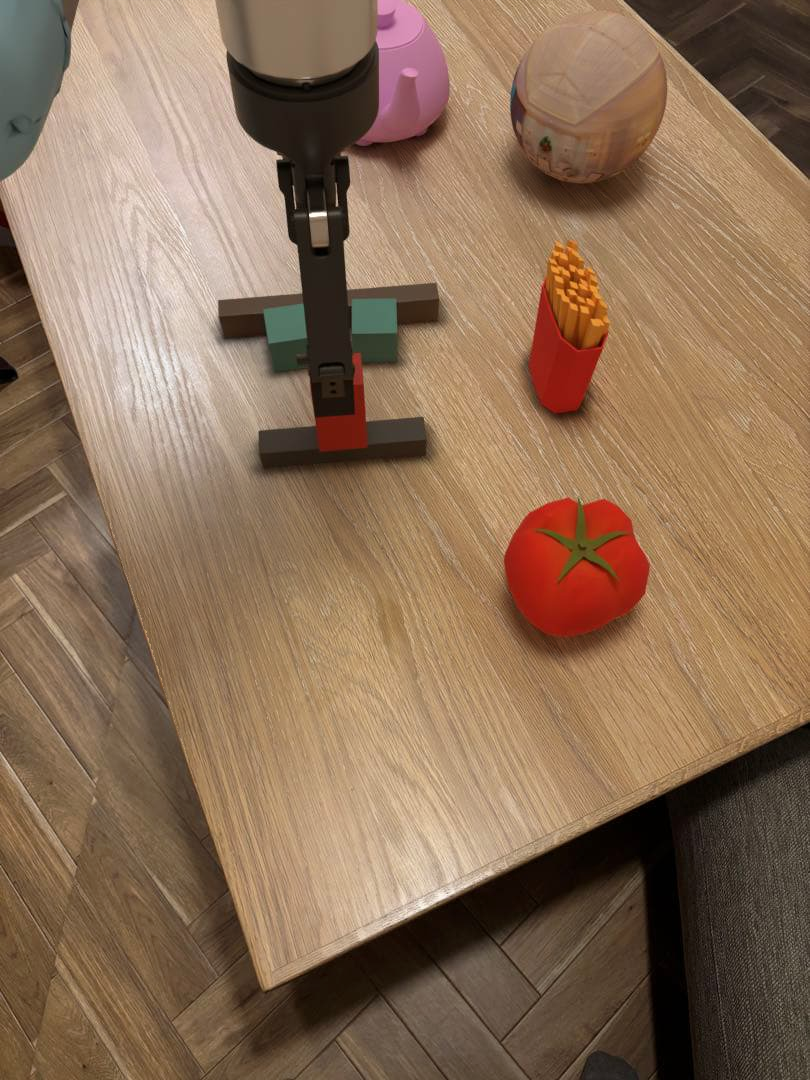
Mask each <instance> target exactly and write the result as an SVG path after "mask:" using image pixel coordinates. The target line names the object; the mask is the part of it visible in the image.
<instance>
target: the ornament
mask: <svg viewBox="0 0 810 1080" xmlns="http://www.w3.org/2000/svg"><path fill="white" fill-rule="evenodd" d="M511 84H512V85H511V89H510V99H509V100H510V101H509V111H510V120H511V125H512V129H513V134H514V136H515V138H516V141H517V143H518V145H519V147H520V149H521V150H522V152H523V154H524V155H525V156H526V158H527V159H528V160H529V161H530V162H531V163H532V164H533V165H534V166H535V167H536V168H537V169H538V170H540V171H541V172H543V173H544V174H546V175H547V176H549V177H552V178H554V179H557V180H559V181H562V182H565V183H566V182H567V183H570V184H571V183H572V184H590V183H597V182H601V181H604V180H607V179H610V178H612V177H614V176H616V175H618V174H619V175H620V174H621V173H622V172H623V171H624V170H626V169H628V168H629V167H631V166H632V165H633V164H634V163H635V162H636V161H637V160H638V159H639V158H641V157H642V155H644V153H645V152H646V151H647V149H648V148H649V147H650V145H651V144H652V142H653V140H654V138H655V137H656V135H657V133H658V131H659V129H660V127H661V124H662V121H663V118H664V115H665V111H666V107H667V99H668V80H667V72H666V67H665V63H664V60H663V57H662V55H661V52H660V50H659V48H658V46H657V44H656V43H655V42H654V40H653V39H652V37H651V36H650V35H649V34H648V33H647V31H646V30H645V29H643V27H641V25H639V24H638V23H637V22H635V21H633V20H632V19H630V18H628V17H626V16H625V15H621V14H619V13H616V12H613V11H609V10H586V11H580V12H576V13H572V14H569V15H568V16H565V17H563V18H561V19H559V20H557V21H555V22H554V23H552V24H551V25H549V26H548V27H546V28H545V29H544V30H543V31H542V32H541V33H540V34H539V35H538V36H537V37H536V38H535V39H533V42H532V43H531V44H530V45H529V47H528V48H527V50H526V51H525V52H524V53H523V56H522V57H521V60H520V61H519V64H518V66H517V68H516V71H515V73H514V77H513V80H512V83H511Z"/></svg>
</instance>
